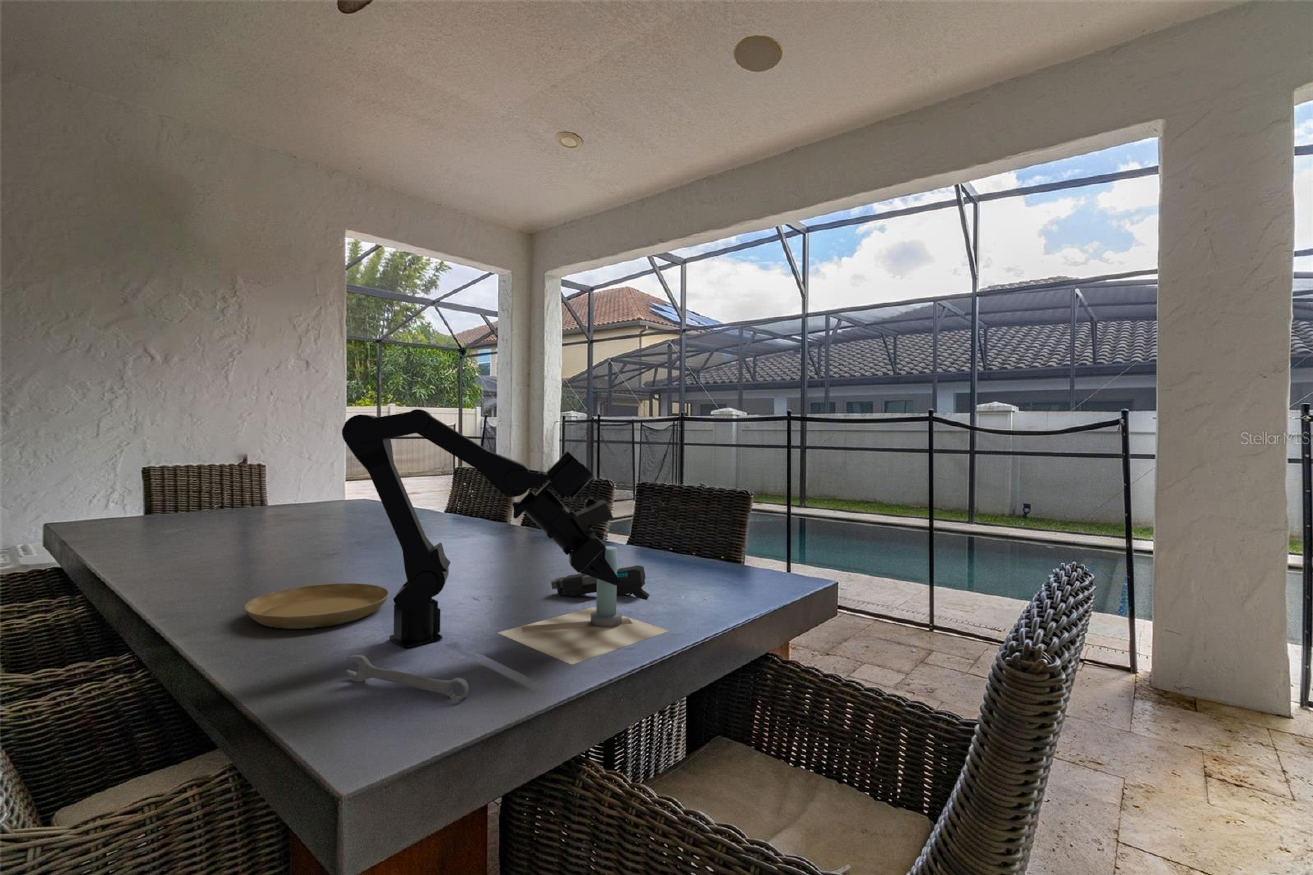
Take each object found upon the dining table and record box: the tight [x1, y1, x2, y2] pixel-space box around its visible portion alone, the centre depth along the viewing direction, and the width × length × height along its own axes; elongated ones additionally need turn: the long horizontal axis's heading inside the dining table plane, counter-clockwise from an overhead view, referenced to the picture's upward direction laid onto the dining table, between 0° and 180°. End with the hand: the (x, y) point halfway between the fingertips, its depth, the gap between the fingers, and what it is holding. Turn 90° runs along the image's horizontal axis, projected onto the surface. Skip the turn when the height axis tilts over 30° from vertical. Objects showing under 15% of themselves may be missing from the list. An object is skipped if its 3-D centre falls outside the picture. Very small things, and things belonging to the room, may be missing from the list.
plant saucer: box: [244, 582, 390, 630], centre depth 116 cm, size 24×24×3 cm
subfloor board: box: [497, 606, 671, 666], centre depth 105 cm, size 22×20×1 cm
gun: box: [550, 565, 651, 601], centre depth 130 cm, size 4×20×10 cm, turn 79°
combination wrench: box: [346, 654, 470, 701], centre depth 83 cm, size 4×1×20 cm
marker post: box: [591, 545, 623, 628], centre depth 110 cm, size 6×6×14 cm
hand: (614, 577), depth 110 cm, fingers open, 9 cm apart
